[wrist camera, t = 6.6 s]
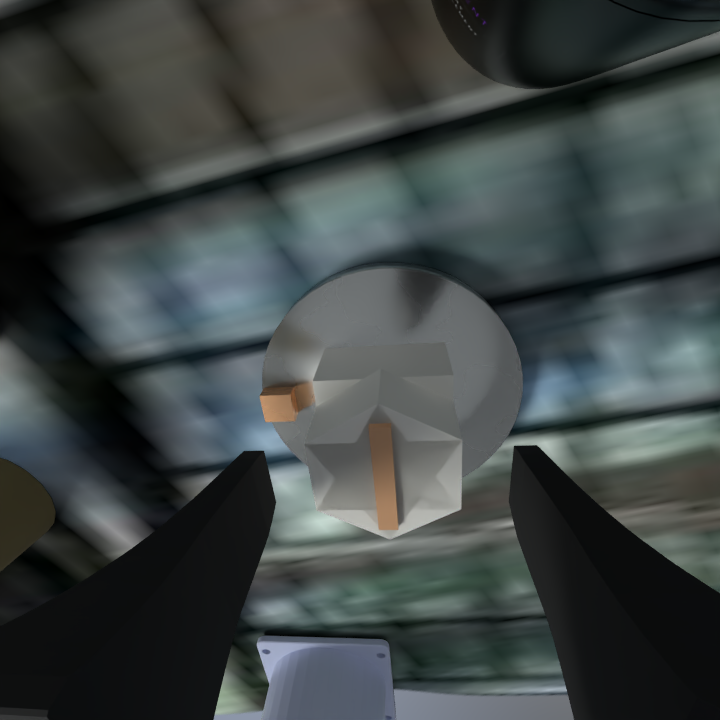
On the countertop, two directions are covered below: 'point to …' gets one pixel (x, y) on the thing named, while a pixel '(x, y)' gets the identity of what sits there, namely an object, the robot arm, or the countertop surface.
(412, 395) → the white faceted lump
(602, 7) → the supplement bottle
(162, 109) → the countertop surface
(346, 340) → the knobbed pot lid
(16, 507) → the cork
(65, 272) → the countertop surface
